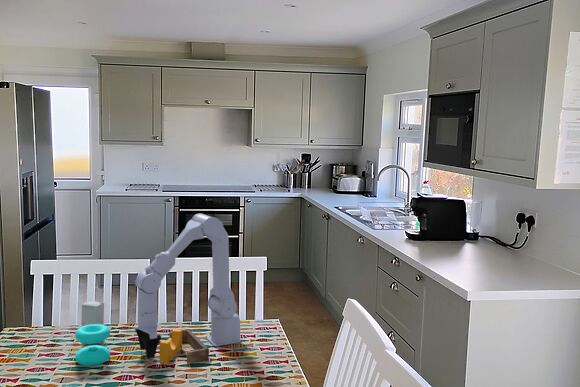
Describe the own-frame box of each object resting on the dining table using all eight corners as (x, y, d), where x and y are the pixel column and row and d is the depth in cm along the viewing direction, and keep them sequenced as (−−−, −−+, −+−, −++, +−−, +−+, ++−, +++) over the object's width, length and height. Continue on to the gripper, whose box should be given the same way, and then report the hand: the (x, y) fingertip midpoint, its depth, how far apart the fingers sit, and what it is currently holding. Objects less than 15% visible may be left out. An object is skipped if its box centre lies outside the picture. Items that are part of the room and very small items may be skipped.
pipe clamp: (169, 347, 178) (169, 328, 178) (181, 348, 178) (182, 329, 177) (154, 362, 167) (154, 342, 166) (167, 364, 166) (167, 343, 165)
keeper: (188, 338, 186) (188, 328, 185) (208, 359, 169) (208, 348, 169) (169, 341, 182) (169, 331, 182) (187, 363, 166) (188, 352, 166)
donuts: (117, 325, 168) (94, 336, 159) (117, 357, 169) (94, 369, 160) (91, 320, 172) (67, 331, 162) (91, 351, 173) (67, 363, 164)
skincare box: (80, 339, 182) (80, 304, 181) (88, 334, 186) (88, 300, 185) (96, 342, 180) (96, 306, 179) (104, 337, 185) (104, 302, 183)
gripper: (128, 305, 172) (128, 347, 174) (140, 319, 160) (140, 364, 161) (151, 302, 176) (150, 343, 177) (164, 316, 163) (163, 360, 165)
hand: (147, 353), depth 169 cm, fingers open, 7 cm apart
